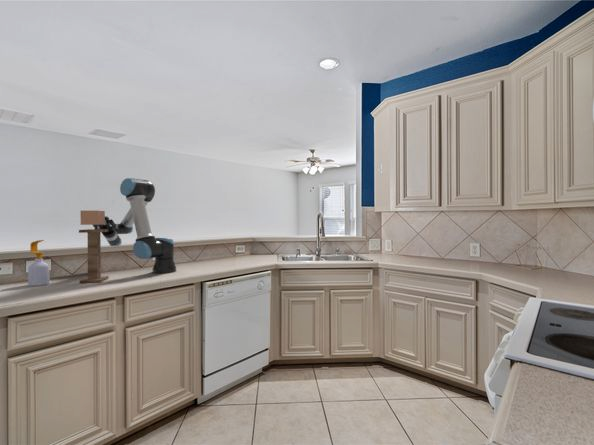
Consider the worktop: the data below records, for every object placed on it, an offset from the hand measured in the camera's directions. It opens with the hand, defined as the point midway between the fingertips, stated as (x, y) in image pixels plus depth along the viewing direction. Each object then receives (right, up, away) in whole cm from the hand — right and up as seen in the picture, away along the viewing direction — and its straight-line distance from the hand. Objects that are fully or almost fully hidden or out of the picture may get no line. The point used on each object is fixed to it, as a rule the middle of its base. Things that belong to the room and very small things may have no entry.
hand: (97, 215), depth 192 cm
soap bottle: (-23, -39, -16) cm, 48 cm away
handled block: (0, -6, 0) cm, 6 cm away
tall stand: (+2, -39, -6) cm, 39 cm away
